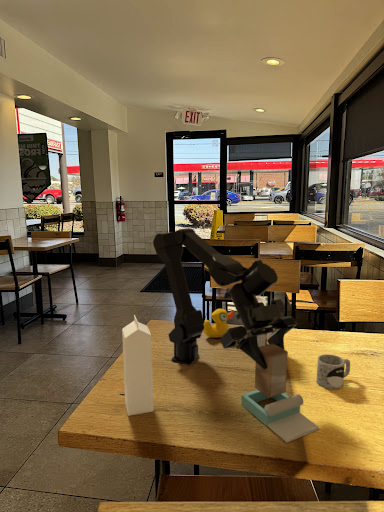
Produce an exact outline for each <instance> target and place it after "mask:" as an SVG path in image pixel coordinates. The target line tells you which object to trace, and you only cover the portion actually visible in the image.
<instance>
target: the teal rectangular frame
mask: <svg viewBox="0 0 384 512" xmlns="http://www.w3.org/2000/svg"><path fill="white" fill-rule="evenodd" d="M240 398H241V399H240V401H241V404H240V405H241V406H243V408H245V409H246V410H247V411H248V412H250V413H251V414H252V415H253V416H254V417H255V418H256V419H258V420H259V421H260V422H261V423H262V424H263V425H265V426H266V427H268V428H269V429H270V430H272V432H274V433H275V434H276V435H277V436H279V438H280V439H282V440H283V441H284V442H285V443H290V442H291V441H294V440H296V439H298V438H301V437H304V436H307V435H308V434H311V433H314V432H316V431H318V430H320V429H319V428H320V426H319V425H318V424H316V423H315V422H313V421H312V420H310V419H309V418H308V417H307V416H305V415H304V414H302V413H301V412H300V410H301V406H303V405H304V398H303V396H302V395H301V394H299V393H298V394H294V395H292V396H289V395H288V394H287V393H286V392H285V393H282V394H279V395H276V396H274V397H272V399H274V400H275V401H274V402H272V403H268V404H266V405H265V406H264V408H263V407H262V406H261V405H259V404H258V402H261V401H264V400H268V399H269V398H268V397H266V396H265V395H264V394H263V393H261V392H260V391H259V390H257V389H256V390H253V391H249V392H245V393H244V394H241V397H240Z"/></svg>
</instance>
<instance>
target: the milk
mask: <svg viewBox="0 0 384 512" xmlns="http://www.w3.org/2000/svg"><path fill="white" fill-rule="evenodd" d="M133 316H134V317H133V319H134V320H133V321H132V322H130V323H128V324H127V325H126V326H124V327H123V328H122V330H121V334H122V337H121V338H122V357H123V358H122V360H123V361H122V362H123V380H124V382H123V383H124V402H125V407H126V412H127V416H128V417H129V416H133V415H134V416H135V415H141V414H147V413H152V412H154V409H155V407H154V406H155V405H154V381H153V380H154V374H153V343H152V341H153V336H152V334H151V331H150V329H149V327H148V325H146V324H144V323H141V322H139V321H138V319H137V317H136V315H135V314H133Z"/></svg>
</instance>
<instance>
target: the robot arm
mask: <svg viewBox="0 0 384 512" xmlns="http://www.w3.org/2000/svg"><path fill="white" fill-rule="evenodd" d="M152 245H153V248H154V251H155V253H156V255H157V257H158V258H159V260H161V261H162V263H163V264H164V266H165V271H166V274H167V278H168V283H169V286H170V291H171V294H172V298H173V301H174V305H175V310H176V311H175V314H174V317H173V325H174V328H173V329H172V330H171V331H170V332H169V333H168V338H169V339H168V340H169V342H171V343H173V357H171V358H170V359H171V361H172V362H176V363H180V364H183V365H184V364H185V365H188V366H190V365H192V364H193V363H194V362H195V361H197V359H198V358H199V357H200V354H199V344H198V343H197V342H198V341H197V339H201V337H202V333H204V332H203V330H204V323H205V322H204V321H205V320H204V318H203V313H202V310H201V309H198V310H197V309H196V307H194V304H193V302H192V297H191V294H190V290H189V287H188V283H187V279H186V275H185V272H184V267H183V262H182V260H181V259H182V255H183V252H184V247H185V248H186V250H188V251H189V252H190V253H191V254H193V256H195V257H196V258H197V259H198V260H199V261H200V262H201V263H202V264H203V265H205V267H206V268H207V269H208V274H209V276H210V277H211V279H213V281H214V282H215V283H216V284H217V285H218V286H221V287H226V286H229V285H233V284H234V285H233V286H231V287H227V288H226V289H225V290H226V291H225V293H224V296H223V298H224V299H226V300H227V299H231V300H232V303H233V305H234V307H235V310H236V312H237V314H236V315H235V318H236V319H237V321H238V320H240V322H241V323H242V325H239V326H235V327H229V329H228V330H227V332H226V333H225V334H224V335H223V336H222V337H220V338H221V339H220V343H221V346H222V348H223V350H226V349H230V348H234V347H235V346H236V344H238V345H237V346H236V347H235V348H236V350H240V351H242V352H243V353H244V354H246V355H247V356H248V357H250V358H251V359H252V360H253V361H254V363H255V364H256V363H257V364H258V365H260V366H261V367H262V368H263V369H266V368H267V365H266V362H265V359H264V357H263V355H262V353H261V351H260V348H259V346H258V343H257V336H259V335H263V334H267V336H268V337H269V338H267V343H268V345H269V344H275V345H277V346H279V347H280V348H282V349H284V350H285V345H284V344H285V343H284V342H285V340H284V339H285V338H284V337H285V335H286V334H287V333H289V332H290V331H291V330H292V329H294V328H295V327H296V326H297V325H298V324H297V321H296V320H295V318H294V317H293V316H291V315H286V316H283V315H282V313H285V312H286V307H285V304H284V302H283V300H282V299H281V298H279V299H274V300H271V301H270V304H268V305H267V306H265V305H264V303H262V302H260V303H259V302H258V300H257V298H256V296H262V295H263V294H264V293H265V292H267V290H269V288H271V287H272V286H273V285H274V284H276V283H277V282H278V274H277V272H276V271H275V269H274V268H272V267H271V266H270V265H268V264H266V263H264V262H263V261H262V260H261V259H258V260H255V261H254V262H253V263H251V265H250V266H249V267H246V266H244V265H243V264H241V262H239V261H238V260H236V259H235V258H232V257H231V256H228V255H224V254H222V253H220V252H219V251H217V250H216V249H215V248H214V247H213V246H212V245H210V244H209V242H207V241H205V240H204V239H203V238H202V237H200V235H198V234H197V233H196V231H195V229H192V228H191V227H190V228H189V227H188V228H180V229H177V230H175V231H170V232H169V231H168V232H163V233H162V232H160V233H157V234H155V237H154V239H153V241H152ZM274 318H277V319H276V320H275V321H274ZM273 321H274V322H273ZM272 322H273V323H272ZM264 329H265V330H264ZM262 330H263V331H262Z"/></svg>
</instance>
